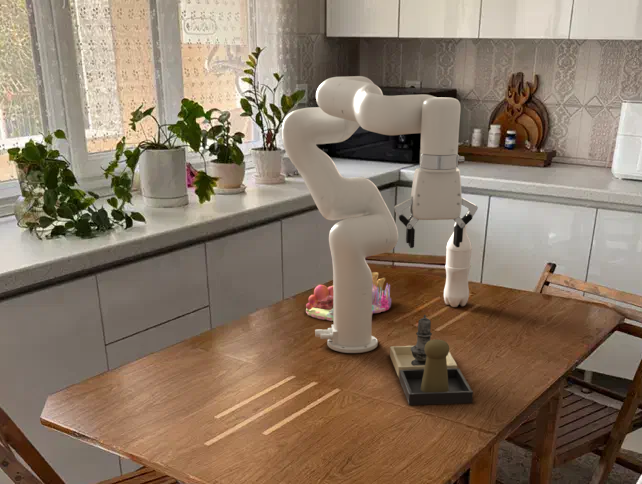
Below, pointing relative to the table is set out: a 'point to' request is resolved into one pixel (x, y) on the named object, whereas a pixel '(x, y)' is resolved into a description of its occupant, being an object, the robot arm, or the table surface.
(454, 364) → the cream tray
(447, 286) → the water bottle
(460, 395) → the charcoal tray
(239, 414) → the table surface
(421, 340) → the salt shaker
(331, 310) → the candy landscape model
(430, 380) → the cork
